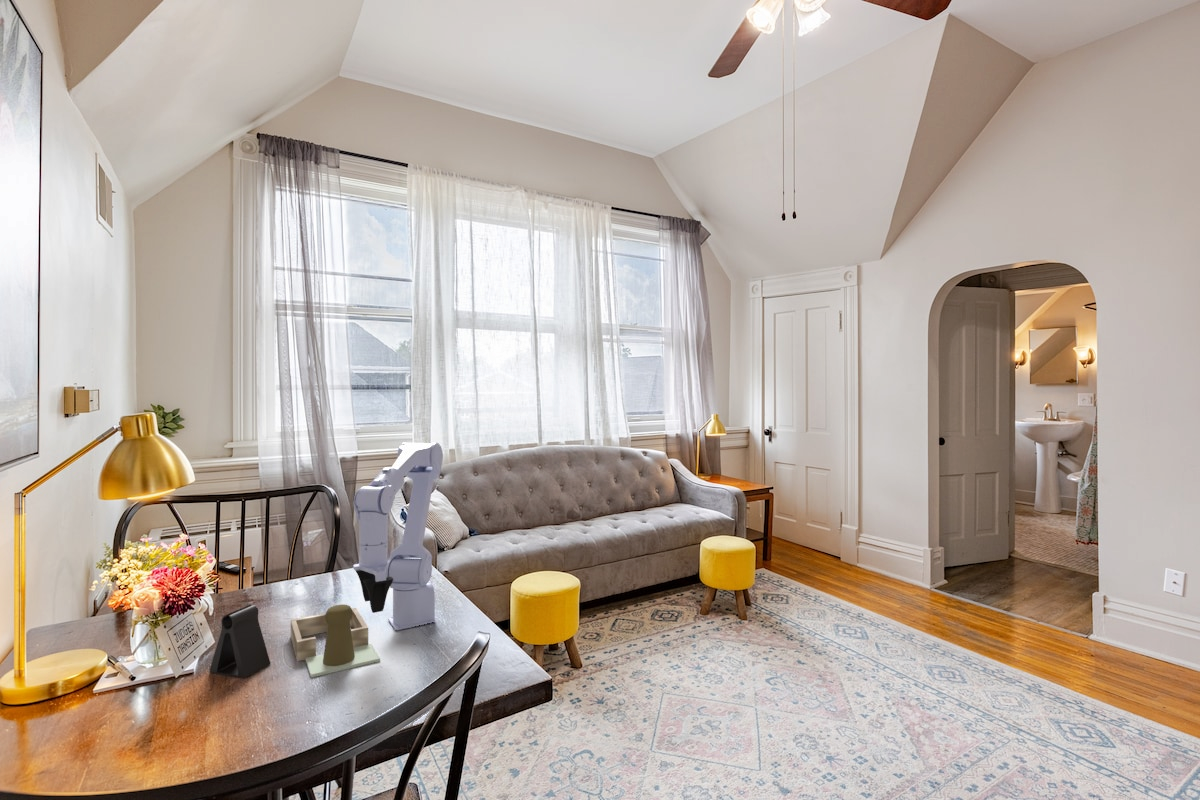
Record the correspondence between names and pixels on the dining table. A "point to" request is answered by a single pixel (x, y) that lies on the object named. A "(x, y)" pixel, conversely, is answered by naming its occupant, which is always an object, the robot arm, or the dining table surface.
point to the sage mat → (362, 657)
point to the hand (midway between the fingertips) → (373, 605)
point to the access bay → (319, 625)
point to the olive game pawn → (338, 636)
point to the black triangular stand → (240, 645)
